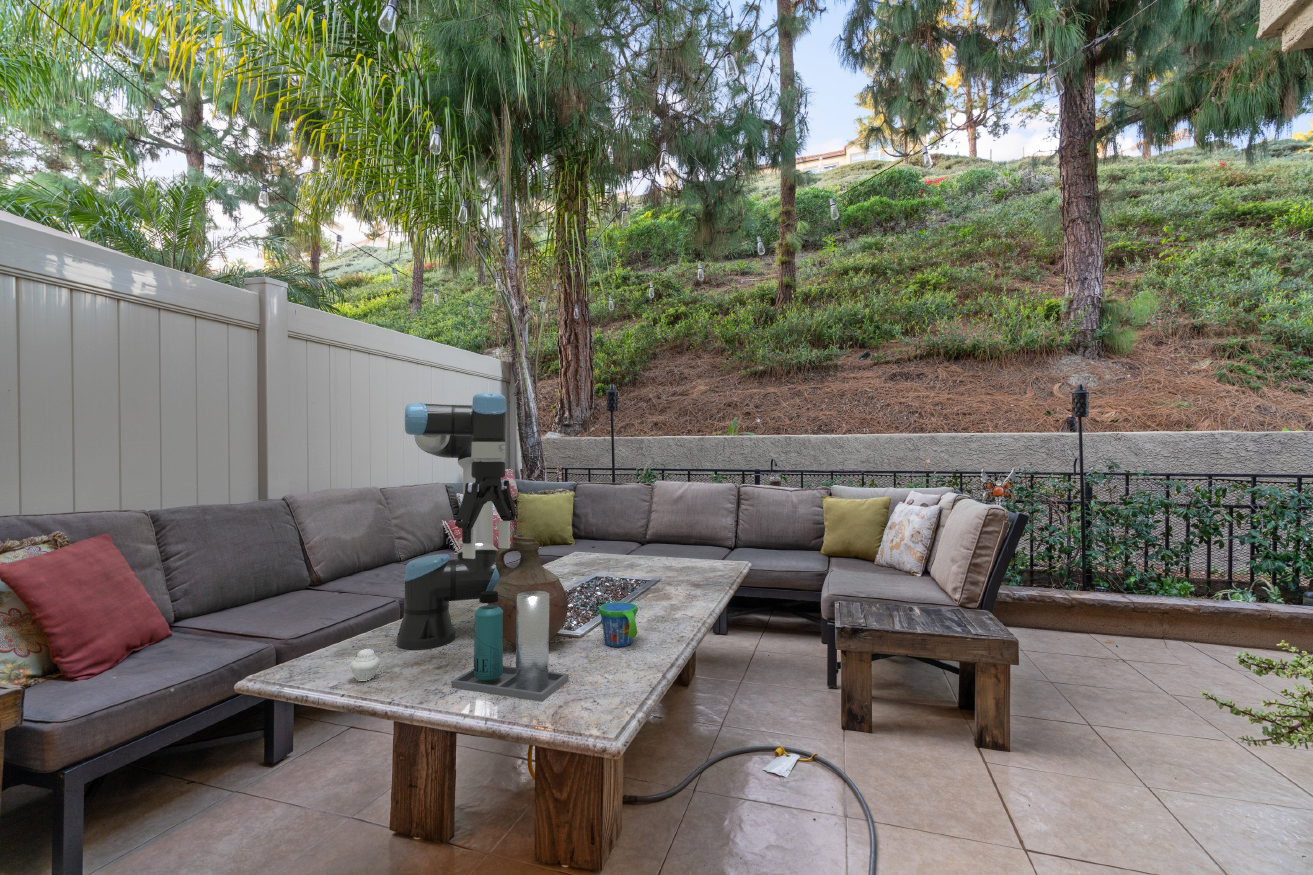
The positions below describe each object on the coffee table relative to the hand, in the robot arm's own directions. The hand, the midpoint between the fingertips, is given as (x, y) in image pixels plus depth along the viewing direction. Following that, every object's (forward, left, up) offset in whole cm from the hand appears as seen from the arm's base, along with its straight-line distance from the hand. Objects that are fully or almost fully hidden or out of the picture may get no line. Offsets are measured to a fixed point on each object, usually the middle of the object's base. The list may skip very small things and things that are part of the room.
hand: (487, 552), depth 129 cm
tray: (+1, +7, -29) cm, 30 cm away
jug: (-25, -4, -29) cm, 39 cm away
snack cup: (-35, +18, -30) cm, 49 cm away
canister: (+1, +13, -28) cm, 31 cm away
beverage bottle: (+2, +2, -28) cm, 29 cm away
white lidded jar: (+7, -28, -30) cm, 41 cm away
